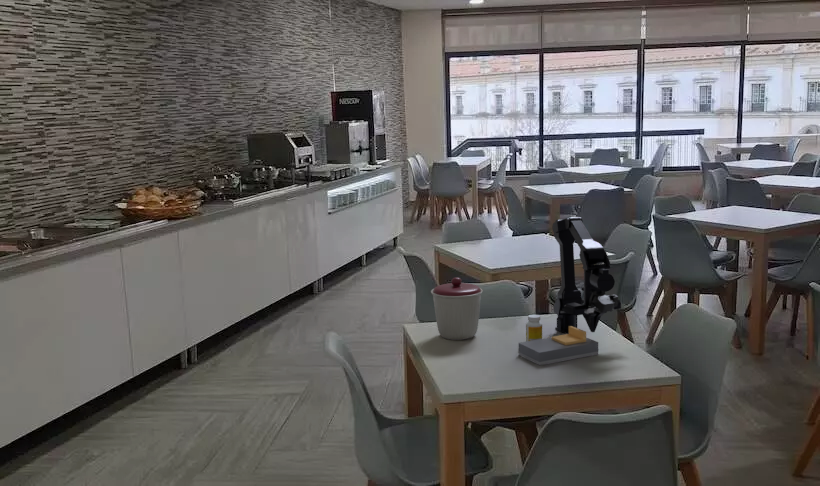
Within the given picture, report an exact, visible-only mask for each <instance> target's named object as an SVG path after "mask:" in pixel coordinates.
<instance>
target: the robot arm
mask: <svg viewBox="0 0 820 486" xmlns="http://www.w3.org/2000/svg"><path fill="white" fill-rule="evenodd" d="M583 222H584V221H583V218H582V217H580V216H571V217H570V216H569V217H566V218H563V219H561V218H559V219H556V220H555V222H553V223H552V225H551V226H552V233H553V237H554V239H555V240H556V242H557V243H558V245H559V259H560V261H559V262H560V275H561V276H560V277H561V285H560V288H559V290H558V291H557V298H556V300H555V303H554V305H553V312H554V314H556V315H557V317H556V326H555V328H554V329H555V330H557V331H559V332H561V333H563V334H569V326H573V327H576V328H578V316H581V315H582V316H583V318H584V320H585V321H586V324H587V326H588V329H589V330H590V332H591V333H595V332H596V330H597V326H598V325H599V321H600V320H601V317H602V316H603V315H605V314H607V313H608V312H613V310H620V309H622V301H621V300H620V299H619V296H618V295H617V294H611V295H607V294H606V292H609V291H611V290H612V289H613V288H614V286H615V284H616V283H615V282H616V281H615V278H614V276H613V275H612V274H611V273H610V272H609V271H610V270H611V261H610V259H609V255H608V253H607V252H606V249H605V248H604V246H602V244H601V243H599V242H598V241H596V240H594V239H593V238H592V236H591V235H590V233H589V231H588V229H587V228H586V226H585V224H584V223H583ZM575 242H576V244H577V245H578V247H579V249H580V251H579V259H580V260H579V261H581V265H582V269H583V286H582V287H581V288H580V289H581V290H580V289H579V288H578V287H577V286H576V285H577V284H576V270H575V269H576V268H575V255H574V254H575V252H574V243H575ZM581 291H583V298H582V292H581Z"/></svg>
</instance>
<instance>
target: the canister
mask: <svg viewBox="0 0 820 486" xmlns="http://www.w3.org/2000/svg"><path fill="white" fill-rule="evenodd" d="M462 281H463V280H462V279H461V277H453V278H452V279H451V282H450V283H444V284H443V283H442V284H440V285H437V286H435V287H434V288H432V289H431V290H430V293H431V295H432V298H433V299H432V300H433V305H434V307H433V308H434V314H435V320H436V327H437V331H438V333H439V335H440V336H441V337H442V338H444V339H447V340H455V341H460V340H469V339H471V338H473V337H475V336H476V334H477V332H478V328H479V327H478V326H479V320H480V312H481V311H480V310H481V301H482V300H481V299H482V297H481V296H482V294H483V292H484V290H483V289H482V288H481V287H479V286H478V285H477V284H473V283H468V282H467V283H466V282H462Z"/></svg>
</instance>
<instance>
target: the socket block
mask: <svg viewBox="0 0 820 486" xmlns="http://www.w3.org/2000/svg"><path fill="white" fill-rule="evenodd" d="M552 337H553V336H551V337H545V338H542V339H539V340H533V341H527V342H526V341H521V342H518V356H520V357H522V358H524V359H526V360H528V361H530V362H532V363H534V364H536V365H538V366H543V365H548V364H549V365H550V364H554V363H559V362H566V361H570V360H575V359H581V358H585V357H592V356H596V355H599V342H598V341H596V340H594V339H592V338H589V337H586V342H582V343H576V344H570V345H564V344H562V343H559V342H557V341H555V340H552Z"/></svg>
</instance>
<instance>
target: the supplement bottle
mask: <svg viewBox="0 0 820 486" xmlns="http://www.w3.org/2000/svg"><path fill="white" fill-rule="evenodd" d="M527 320H528V321H527V322H526V323H525V342H527V341H533V340H539V339H543V323H542V321H541V316H540V314H529V315H528V316H527Z"/></svg>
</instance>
